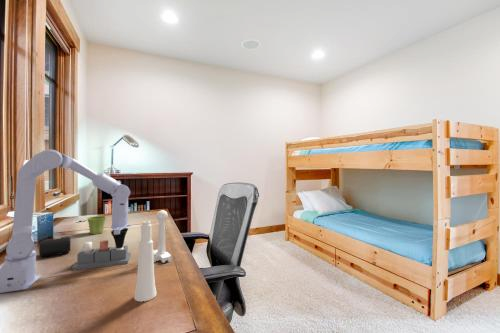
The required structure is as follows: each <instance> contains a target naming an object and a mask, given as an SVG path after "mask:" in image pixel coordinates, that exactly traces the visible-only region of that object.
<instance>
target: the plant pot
mask: <svg viewBox="0 0 500 333" xmlns="http://www.w3.org/2000/svg"><path fill="white" fill-rule="evenodd" d="M106 219H107V216H106V215H97V216H95V215H94V216H90V217H87V218H86V220H87V223H88V228H89V234H90V235H98V234H103V233H104V229H105V228H104V227H105V223H106Z"/></svg>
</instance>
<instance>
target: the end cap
mask: <svg viewBox="0 0 500 333" xmlns="http://www.w3.org/2000/svg"><path fill="white" fill-rule="evenodd" d="M38 249H39V251H38V252H39V253H38V254H39V256H40V257H41V258H45V257H50V256H57V255H62V254H68V253H70V252H71V237H70V236H64V237H63V236H62V237H60V238H48V239H47V238H46V239H43V240H41V241H40V242H39V248H38Z"/></svg>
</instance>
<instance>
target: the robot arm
mask: <svg viewBox="0 0 500 333" xmlns="http://www.w3.org/2000/svg"><path fill="white" fill-rule="evenodd" d="M58 167H59V168H61V169H68V170H69V169H70V170H72V171H74V172H76V173H78V174H79V175H81V176H83V177H85V178H86V179H89V180H90V181H92V185H93V186H94V187H95V188H97V189H100V190H101V191H103V192H105V193H107V194H108V195H109V194H110V196H111V197H112V203H111V225H110V226H111V227H110V228H111V229H112V231H111V232H110V233H111V236H112V237H113V240H114V243H115V244H114V245H115V247H116V248H122V247H123V246H124V243H125V237H126V235H127V233H128V231H129V228H128V227H131V226H132V223H129V197H130V195H131V193H132V192H131V189H130V188H129V187H128V186H127V185H126V184H122V181H121V180H116V179H115V178H113V177H112V176H111V174H110V173H105V172H100V173H99V172H98V173H97V172H96V171H94V170H92V169H91V168H89V167H88V166H87V165H85V164H83V163H81V161H78V160H77V159H75V158H73V157H71V156H69V155H66V154H65V153H61V152H59V151H58V150H57V149H50V148H49V149H44V150H43V151H41V152H38V153H36V154H34V155H33V156H32V157H31V158H30V159H29V160H28V161H27V162H25V164H23V165H22V166H21V167H20V168H18V170H17V176H16V177H17V178H16V188H15V189H16V190H15V201H14V212H13V223H12V224H13V225H12V232H11V236H10V238H9V239H8V242H7V246H6V250H5V252H6V255H5V256H4V263H3V264H2V266H1V267H0V294H2V293H8V292H17V291H24V290H28V289H30V287H31V286H33V284H35V283H36V282H37V281H38V280H39V279H40V278H41V277H42V274H38V275H37V273H36V272H37V251H36V250H35V248H36V247H35V237H34V235H33V232H32V229H33V218H34V206H35V195H36V194H35V193H36V182H37V181H36V180H37V178H38V177H39V176H40V175H42V174H44V173H45V172H47V171H49V170H54V169H56V168H58Z"/></svg>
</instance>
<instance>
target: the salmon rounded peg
mask: <svg viewBox="0 0 500 333" xmlns="http://www.w3.org/2000/svg"><path fill="white" fill-rule="evenodd" d="M108 247H109V240H108V239H107V240H101V241H99V248H100V252H101V251H108Z"/></svg>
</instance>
